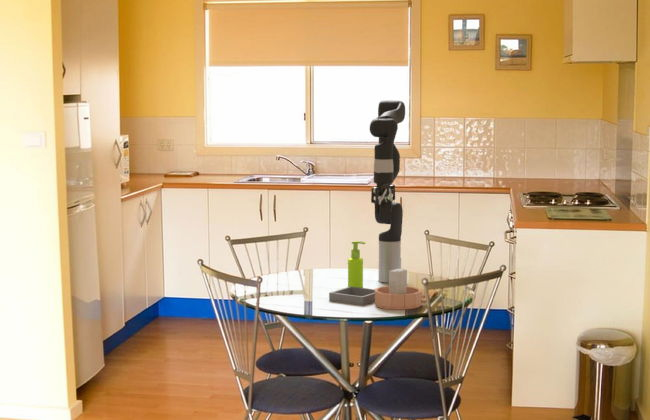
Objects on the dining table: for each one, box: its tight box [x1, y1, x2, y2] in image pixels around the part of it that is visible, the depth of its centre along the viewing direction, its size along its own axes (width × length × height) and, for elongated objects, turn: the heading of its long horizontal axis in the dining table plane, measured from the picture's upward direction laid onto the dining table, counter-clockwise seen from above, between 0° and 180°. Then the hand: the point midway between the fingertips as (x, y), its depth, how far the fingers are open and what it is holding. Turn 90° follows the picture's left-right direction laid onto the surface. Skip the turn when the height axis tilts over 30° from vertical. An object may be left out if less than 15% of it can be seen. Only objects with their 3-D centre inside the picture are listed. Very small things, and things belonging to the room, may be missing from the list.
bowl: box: [374, 285, 422, 311], centre depth 347 cm, size 17×17×6 cm
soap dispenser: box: [347, 240, 366, 288], centre depth 371 cm, size 6×7×20 cm
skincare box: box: [388, 268, 408, 294], centre depth 346 cm, size 6×4×12 cm
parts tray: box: [328, 286, 376, 306], centre depth 357 cm, size 15×15×3 cm
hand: (383, 212), depth 362 cm, fingers open, 8 cm apart
